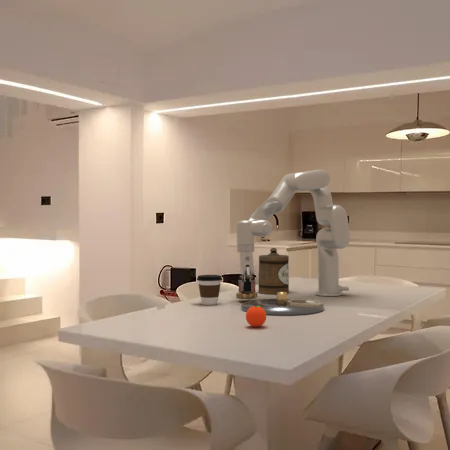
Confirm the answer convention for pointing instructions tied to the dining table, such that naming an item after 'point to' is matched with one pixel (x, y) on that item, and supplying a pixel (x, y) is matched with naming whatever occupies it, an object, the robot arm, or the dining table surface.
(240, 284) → the lighter
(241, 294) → the gear
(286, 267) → the wooden container
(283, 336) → the dining table surface
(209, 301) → the coffee cup
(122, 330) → the dining table surface
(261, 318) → the clementine
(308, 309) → the carrier plate
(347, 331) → the dining table surface
